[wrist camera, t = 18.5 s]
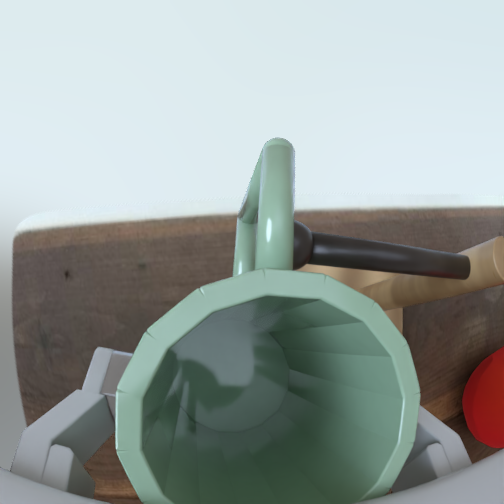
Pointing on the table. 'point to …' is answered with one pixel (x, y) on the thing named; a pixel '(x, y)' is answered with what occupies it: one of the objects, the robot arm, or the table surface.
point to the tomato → (486, 401)
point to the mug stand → (398, 268)
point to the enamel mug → (268, 378)
